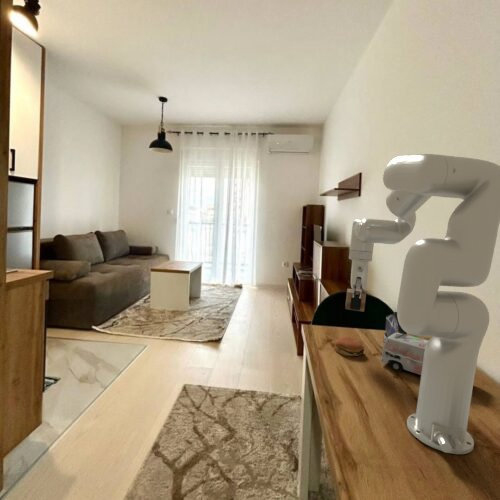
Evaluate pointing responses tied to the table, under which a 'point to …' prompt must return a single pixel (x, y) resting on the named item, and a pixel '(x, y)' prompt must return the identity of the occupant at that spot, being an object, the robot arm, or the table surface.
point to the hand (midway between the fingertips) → (354, 306)
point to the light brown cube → (348, 300)
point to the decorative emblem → (392, 326)
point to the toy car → (404, 352)
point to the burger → (349, 346)
